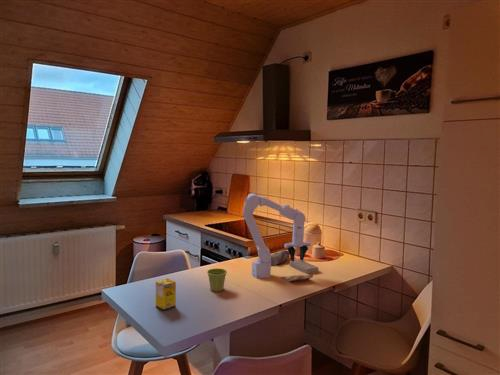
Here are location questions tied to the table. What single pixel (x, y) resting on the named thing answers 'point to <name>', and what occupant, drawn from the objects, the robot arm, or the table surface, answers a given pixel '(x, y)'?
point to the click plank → (299, 278)
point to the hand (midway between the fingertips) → (297, 260)
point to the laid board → (290, 277)
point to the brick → (303, 266)
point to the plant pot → (216, 279)
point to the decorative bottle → (279, 257)
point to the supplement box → (165, 294)
